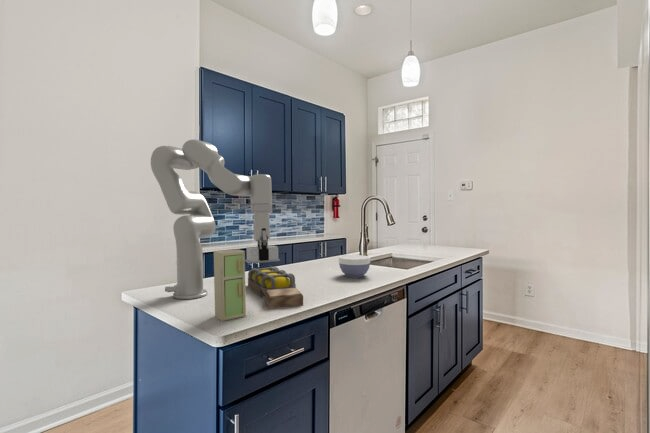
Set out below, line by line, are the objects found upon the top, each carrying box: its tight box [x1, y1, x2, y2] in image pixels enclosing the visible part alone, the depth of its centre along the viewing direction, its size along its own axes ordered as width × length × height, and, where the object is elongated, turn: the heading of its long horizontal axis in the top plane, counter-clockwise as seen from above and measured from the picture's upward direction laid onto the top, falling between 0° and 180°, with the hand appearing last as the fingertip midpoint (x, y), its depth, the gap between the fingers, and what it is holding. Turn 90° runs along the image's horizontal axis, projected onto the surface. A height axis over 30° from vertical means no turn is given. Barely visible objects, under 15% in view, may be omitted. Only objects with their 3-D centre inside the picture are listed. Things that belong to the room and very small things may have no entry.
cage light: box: [247, 266, 297, 298], centre depth 146 cm, size 15×8×30 cm
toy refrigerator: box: [213, 248, 247, 322], centre depth 110 cm, size 8×7×21 cm
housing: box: [245, 245, 281, 265], centre depth 124 cm, size 11×7×5 cm, turn 115°
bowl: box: [338, 254, 371, 279], centre depth 174 cm, size 16×16×10 cm
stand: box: [264, 287, 304, 309], centre depth 126 cm, size 12×10×4 cm
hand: (263, 258), depth 125 cm, fingers closed on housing, 6 cm apart
